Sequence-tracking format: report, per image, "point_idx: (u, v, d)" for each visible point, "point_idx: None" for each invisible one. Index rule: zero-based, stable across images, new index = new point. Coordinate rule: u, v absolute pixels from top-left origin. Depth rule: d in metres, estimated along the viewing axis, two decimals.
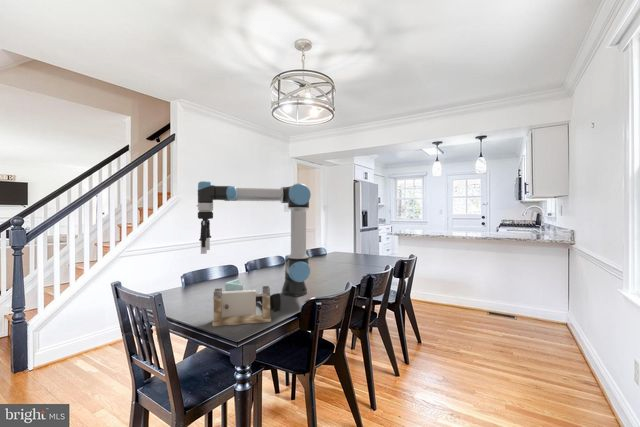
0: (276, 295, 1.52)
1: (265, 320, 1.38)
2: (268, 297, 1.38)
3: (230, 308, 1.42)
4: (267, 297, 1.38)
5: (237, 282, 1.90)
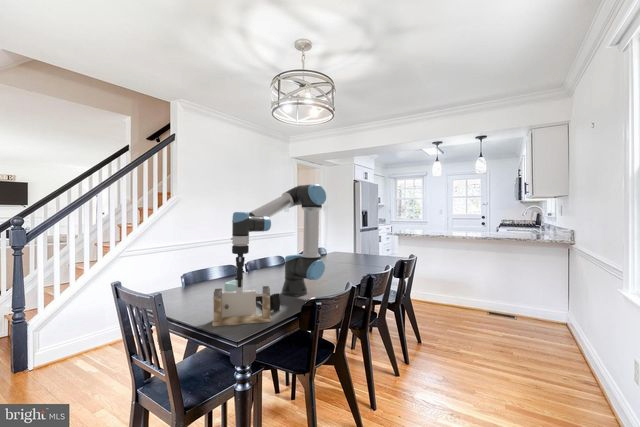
0: (275, 295, 1.52)
1: (265, 320, 1.38)
2: (268, 297, 1.38)
3: (230, 308, 1.41)
4: (267, 297, 1.38)
5: (236, 282, 1.90)
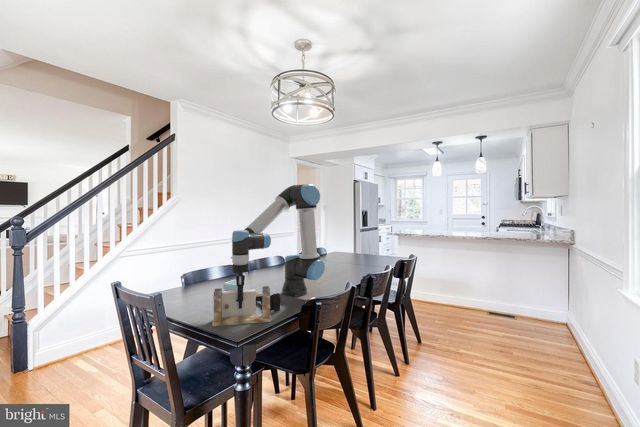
0: (276, 295, 1.52)
1: (265, 320, 1.38)
2: (268, 297, 1.38)
3: (230, 308, 1.41)
4: (267, 297, 1.38)
5: (236, 282, 1.90)
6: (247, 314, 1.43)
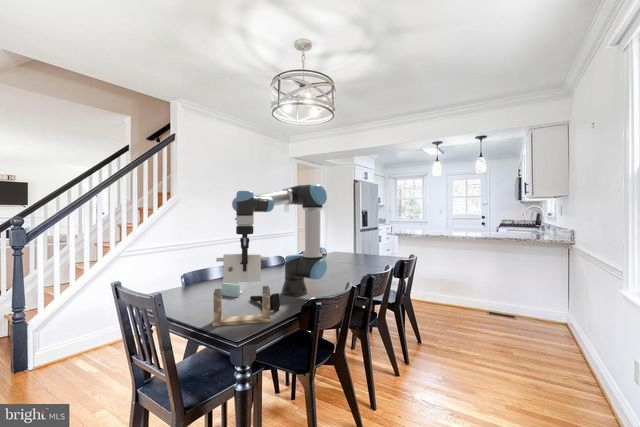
0: (275, 295, 1.52)
1: (265, 320, 1.38)
2: (268, 297, 1.38)
3: (234, 271, 1.35)
4: (267, 297, 1.38)
5: None
6: (252, 278, 1.37)
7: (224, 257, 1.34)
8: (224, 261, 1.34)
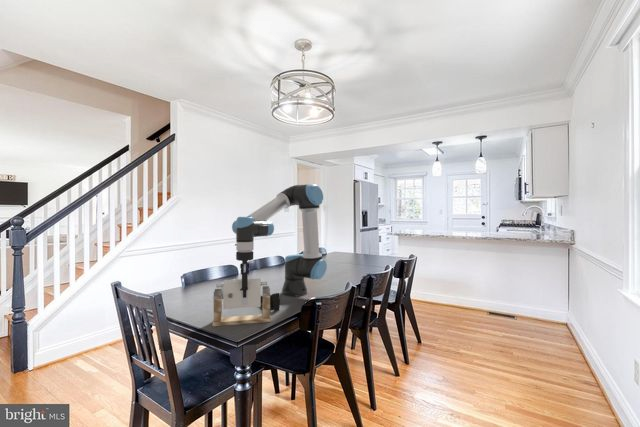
0: (275, 295, 1.53)
1: (265, 320, 1.38)
2: (268, 297, 1.38)
3: (233, 297, 1.35)
4: (267, 297, 1.38)
5: None
6: (251, 304, 1.37)
7: (224, 283, 1.34)
8: (224, 287, 1.35)
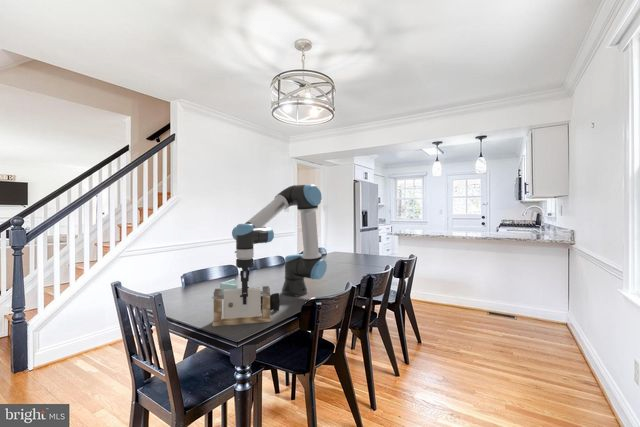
0: (275, 295, 1.53)
1: (265, 320, 1.38)
2: (268, 297, 1.38)
3: (234, 306, 1.36)
4: (267, 297, 1.38)
5: (233, 282, 1.90)
6: (252, 313, 1.37)
7: (224, 293, 1.35)
8: (224, 297, 1.35)
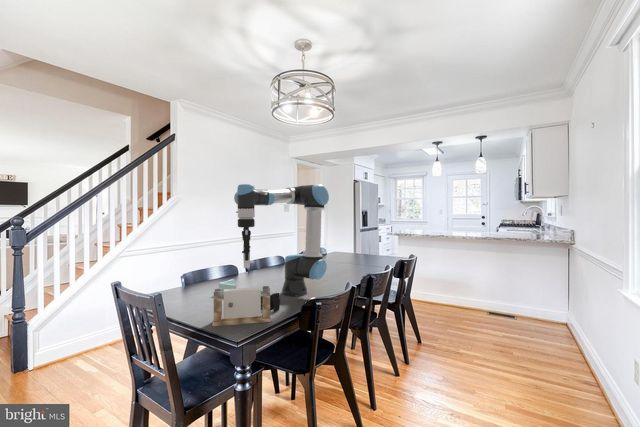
0: (275, 295, 1.53)
1: (265, 320, 1.38)
2: (268, 297, 1.38)
3: (234, 306, 1.36)
4: (267, 297, 1.38)
5: (232, 282, 1.90)
6: (252, 313, 1.37)
7: (224, 293, 1.35)
8: (224, 297, 1.35)
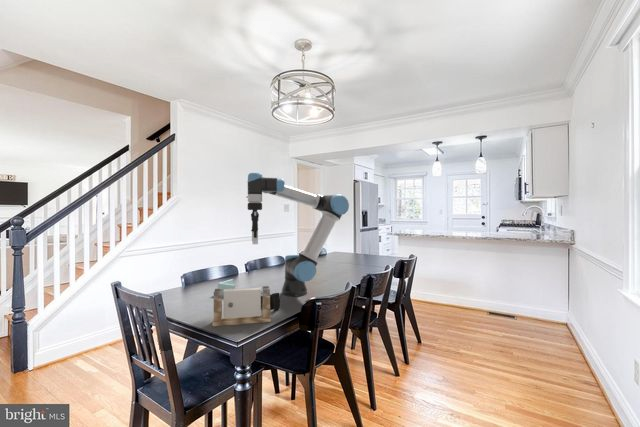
0: (275, 295, 1.53)
1: (265, 320, 1.38)
2: (268, 297, 1.38)
3: (234, 306, 1.36)
4: (267, 297, 1.38)
5: (231, 282, 1.90)
6: (252, 313, 1.37)
7: (224, 293, 1.35)
8: (224, 297, 1.35)
